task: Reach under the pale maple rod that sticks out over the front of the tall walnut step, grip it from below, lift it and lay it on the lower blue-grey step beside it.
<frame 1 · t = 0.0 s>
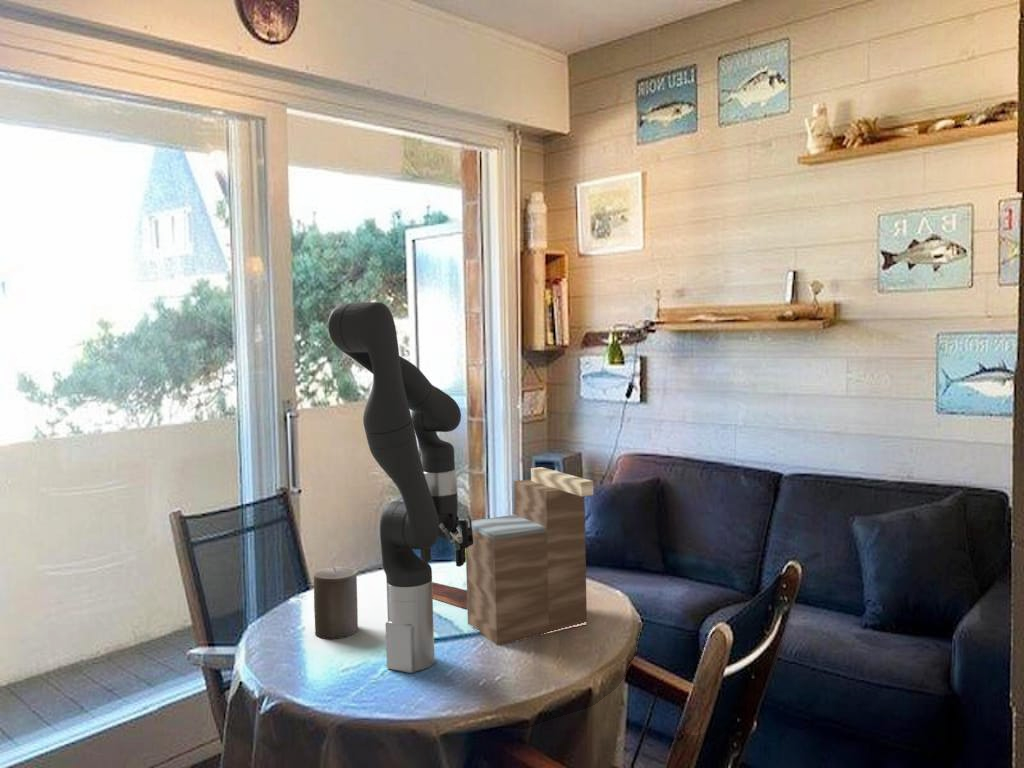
hand: (443, 563, 177), 17 cm above the table, tool pointing down, fingers open, 8 cm apart
maple rod: (560, 487, 182), point 32 cm above the table, touching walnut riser
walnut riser: (527, 624, 186), on the table
pillar candle: (337, 632, 185), on the table
wooden tablet: (451, 598, 208), on the table
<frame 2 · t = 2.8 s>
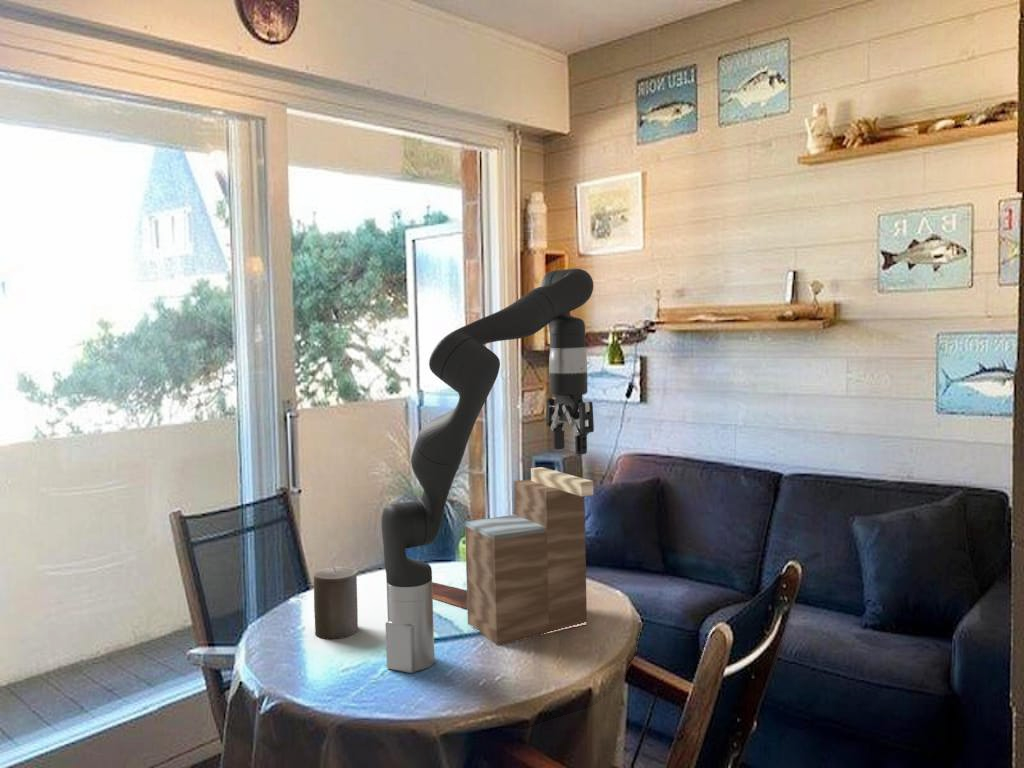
hand: (569, 451, 162), 43 cm above the table, tool pointing down, fingers open, 8 cm apart
nothing on the table moved.
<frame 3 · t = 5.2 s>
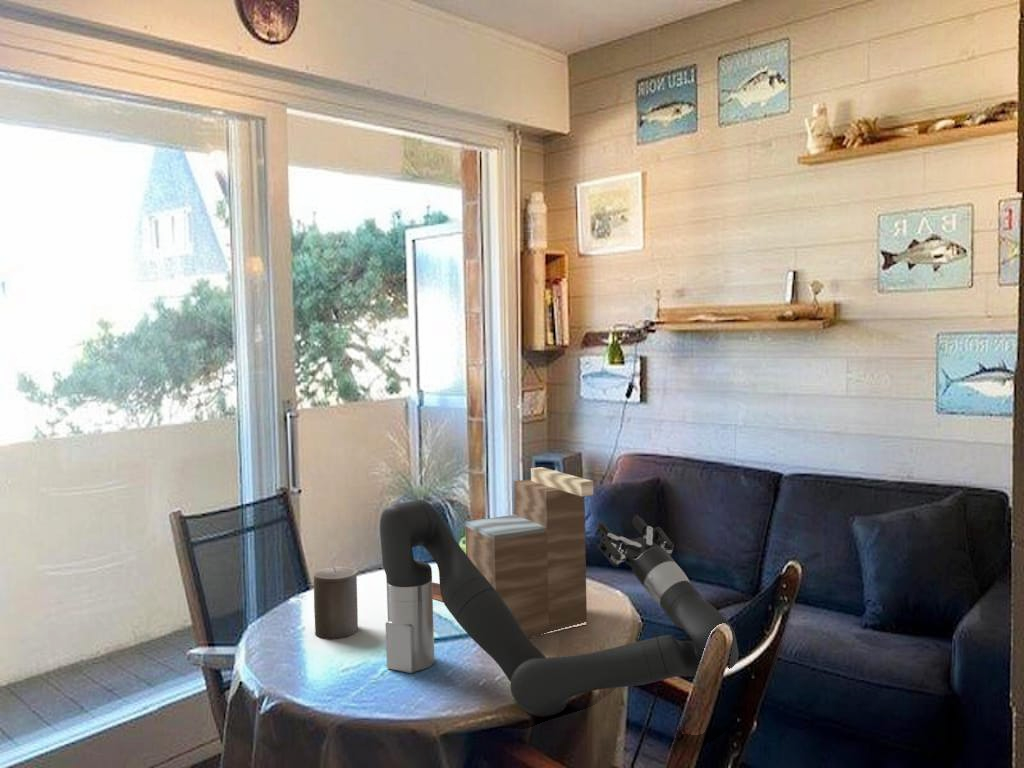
hand: (617, 521, 163), 29 cm above the table, tool pointing upward, fingers open, 8 cm apart
nothing on the table moved.
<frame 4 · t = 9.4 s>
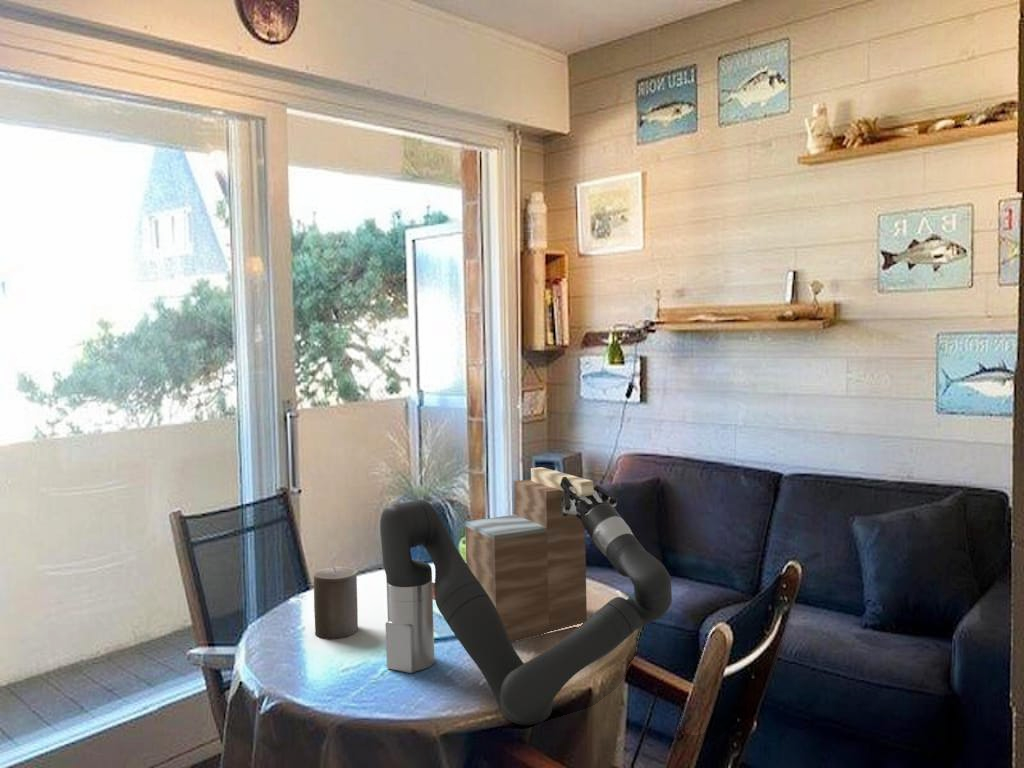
hand: (570, 479, 178), 34 cm above the table, tool pointing upward, fingers closed on maple rod, 3 cm apart
maple rod: (560, 487, 182), point 32 cm above the table, touching gripper, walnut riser
everything else where it was.
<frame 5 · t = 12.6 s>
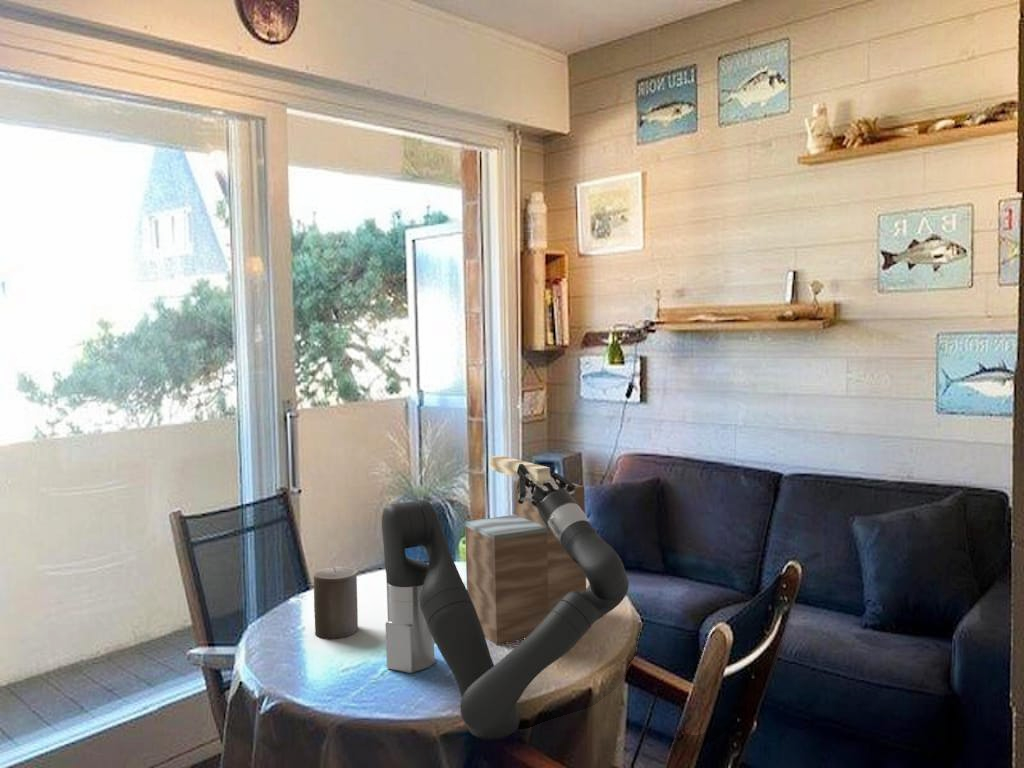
hand: (527, 466, 174), 38 cm above the table, tool pointing upward, fingers closed on maple rod, 3 cm apart
maple rod: (518, 475, 177), point 36 cm above the table, touching gripper
everything else where it was.
when the fingers open (28 cm above the table, at t = 15.8 s): maple rod drops 1 cm, resting on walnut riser.
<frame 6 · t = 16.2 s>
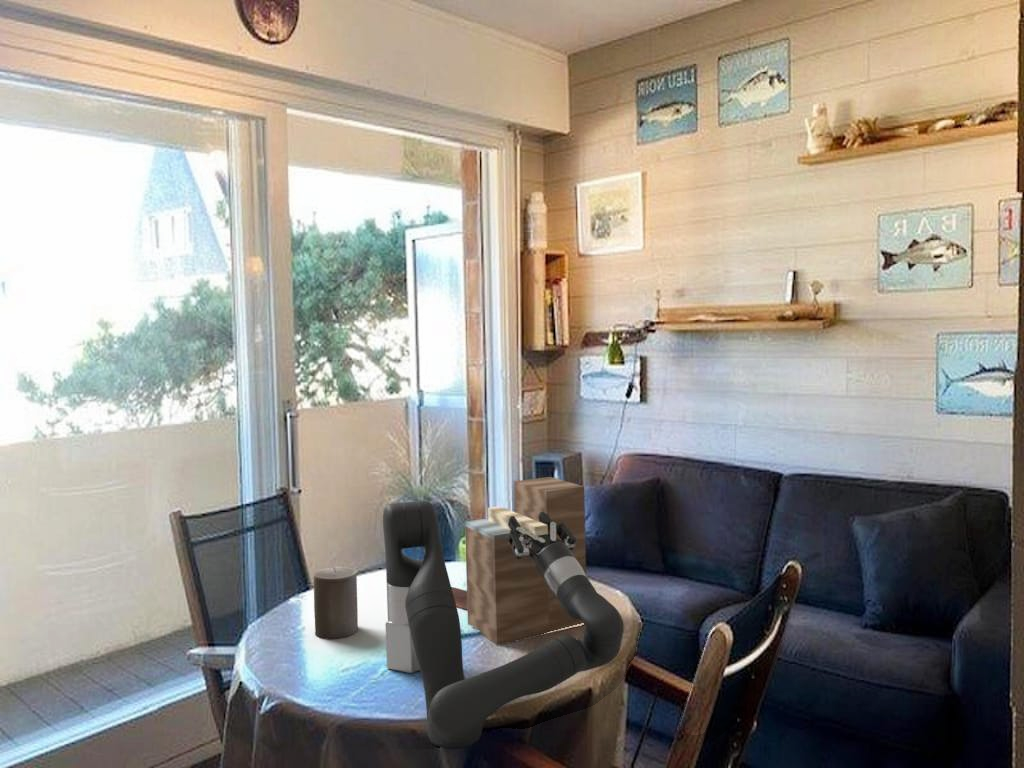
hand: (526, 517, 173), 28 cm above the table, tool pointing upward, fingers open, 6 cm apart
maple rod: (516, 529, 177), point 24 cm above the table, touching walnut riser
everything else where it was.
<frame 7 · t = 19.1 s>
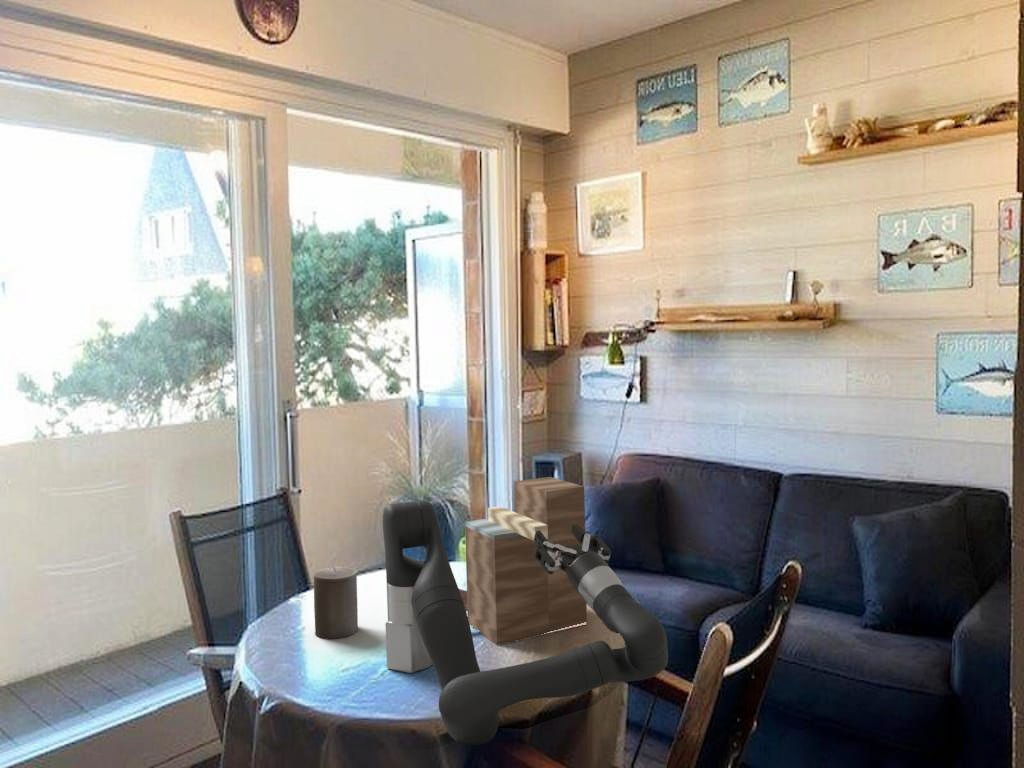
hand: (555, 530, 163), 27 cm above the table, tool pointing upward, fingers open, 8 cm apart
nothing on the table moved.
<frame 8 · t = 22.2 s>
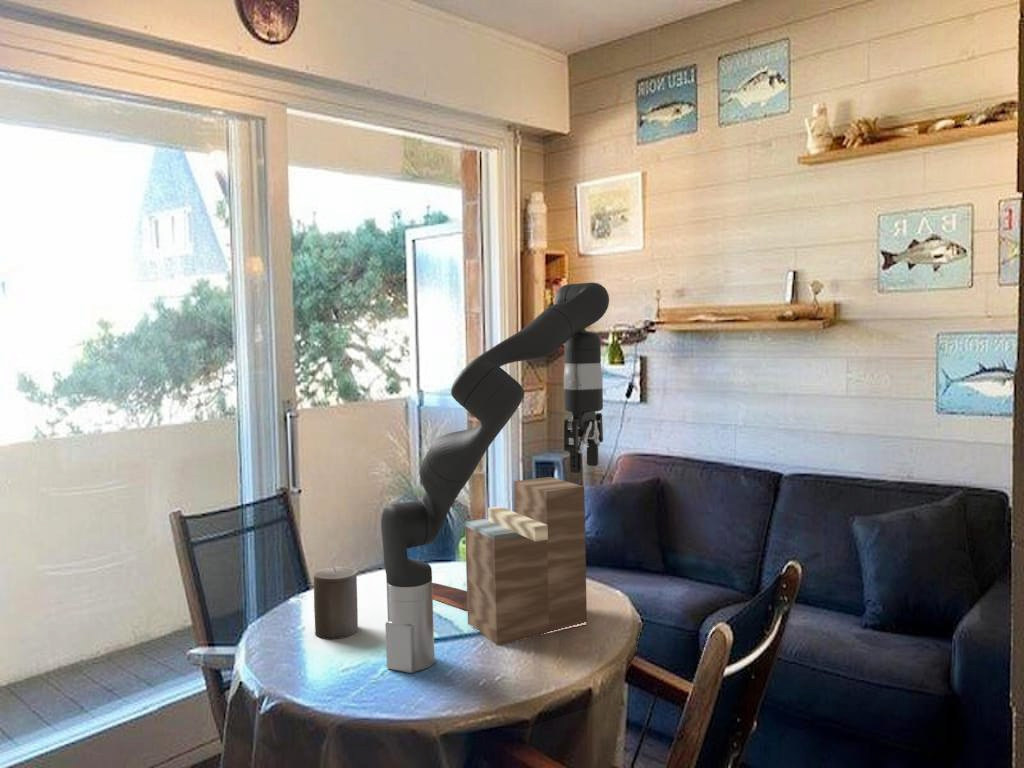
hand: (584, 468, 158), 40 cm above the table, tool pointing down, fingers open, 8 cm apart
nothing on the table moved.
at the end: maple rod inside the target area on the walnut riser (0.2 cm from its centre), point 24.0 cm above the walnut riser's base; the gripper is holding nothing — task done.
